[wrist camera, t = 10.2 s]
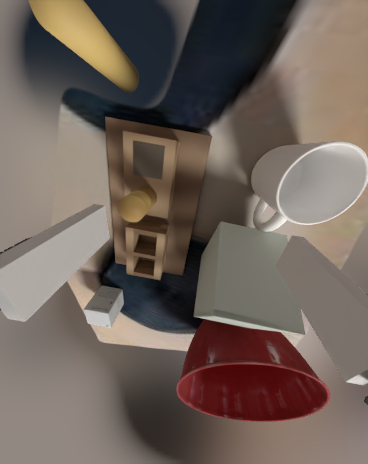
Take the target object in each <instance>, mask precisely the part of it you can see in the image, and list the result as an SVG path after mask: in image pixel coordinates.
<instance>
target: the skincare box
mask: <svg viewBox="0 0 368 464" xmlns="http://www.w3.org/2000/svg"><path fill="white" fill-rule="evenodd" d="M123 304H124V300H123V291H122V289H118V288H112V287H107V286H101V287H100V288H99V290H98V291H97V292H96V294H95V295H94V296H93V298H92V299H91V300H90V302H89V303H88V304H87V306H86V307H85V308H84V313H85V316H86V319H87V322H88V324H93V325H97V326H103V327H108V328H111V327H112V325H113V323H114V321H115V319H116V317H117V315H118V313H119V311H120V310H121V308H122V306H123Z"/></svg>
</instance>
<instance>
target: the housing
mask: <svg viewBox="0 0 368 464" xmlns="http://www.w3.org/2000/svg"><path fill="white" fill-rule="evenodd" d="M287 244H288V240H287V235H283V234H278V233H274V232H263V231H262V230H259V229H255V228H250V227H245V226H240V225H235V224H231V223H226V222H220V223H219V225H218V227H217V229H216V231H215V232H214V234H213V236H212V238H211V239H210V241H209V243H208V245H207V247H206V248H205V250H204V252H203V254H202V256H201V263H200V271H199V279H198V286H197V294H196V302H195V309H194V317H197V318H202V319H207V320H211V321H216V322H221V323H226V324H230V325H235V326H240V327H245V328H252V329H260V330H268V331H276V332H284V333H292V334H301V335H305V331H304V325H303V320H302V315H301V309H300V306H299V304H298V303H297V301H296V300H295V298H294V296H293V295H292V293H291V291H290V290H289V288H288V286H287V285H286V283H285V281H284V280H283V278H282V276H281V275H280V273H279V271H278V270H277V268H276V267H275V265H276V263H277V261H278V260H279V258H280V256H281V254H282V253H283V251H284V249H285V247H286V246H287Z"/></svg>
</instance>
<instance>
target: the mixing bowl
mask: <svg viewBox="0 0 368 464" xmlns="http://www.w3.org/2000/svg"><path fill="white" fill-rule="evenodd" d="M177 394H178V396H179V398H180V399H181V400H182V401H183V402H184V403H186V404H187V405H188V406H190V407H192V408H194V409H196V410H198V411H201V412H203V413H207V414H209V415H213V416H217V417H221V418H227V419H232V420H240V421H253V422H272V421H284V420H291V419H296V418H301V417H305V416H308V415H311V414H313V413H315V412H317V411H319V410H321V409H322V408H323V407H325V406H326V405H327V403H328V401H329V399H330V392H329V389H328V388H327V386H326V385H325V384H324V383H323V382H322V381H321V380H320V379H319V378H318V377H317V375H316V374H315V373H314V372H313V370H312V369H311V367H310V366H309V365H308V363H307V362H306V361H305V359H304V358H303V357H302V356H301V354H300V353H299V352H298V351H297V350H296V348H295V347H294V346H293V345H292V344H291V343H290V342H289V341H288V339H287V338H286V337H285V336H284V335H283V334H282V333H281V332H276V331H268V330H260V329H252V328H245V327H240V326H235V325H230V324H226V323H221V322H216V321H211V320H207V319H204V320H203V321H202V323H201V324H200V326H199V327H198V329H197V331H196V333H195V335H194V337H193V339H192V342H191V344H190V347H189V349H188V353H187V355H186V358H185V362H184V365H183V369H182V373H181V376H180V380H179V381H178V384H177Z"/></svg>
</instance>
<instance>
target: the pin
mask: <svg viewBox="0 0 368 464" xmlns="http://www.w3.org/2000/svg"><path fill="white" fill-rule="evenodd" d="M29 3H30V6H31V9H32V11H33V13H34V15H35V17H36V19H37V20H38V21H39V23H40V24H41V25H42V26H43V27H44V28H45V29H46V30H47V31H48V32H50V33H51V34H52V35H53V36H55V37H56V38H57V39H58V40H60V41H61V42H62V43H64V44H65V45H66V46H67V47H69V48H70V49H71V50H72V51H74V52H75V53H76V54H77V55H79V56H80V57H81V58H83V59H84V60H85V61H86V62H88V63H89V64H90V65H92V66H93V67H94V68H95V69H96V70H98V71H99V72H100V73H102V74H103V75H104V76H105V77H107V78H108V79H109V80H111V81H112V82H113V83H114V84H115V85H117V86H118V87H119V88H121V89H122V90H123V91H125V92H128V93H129V92H133V91H134V90H135V89H136V88H137V85H138V81H139V77H138V72H137V69H136V68H135V66H134V65H133V63H132V62H131V61H130V60H129V58H128V57H127V56H126V54H125V53H124V52H123V51H122V49H121V48H120V47H119V46H118V44H117V43H116V41H115V40H114V39H113V38H112V36H111V35H110V34H109V33H108V31H107V30H106V29H105V27H104V26H103V25H102V23H101V22H100V21H99V20H98V18H97V17H96V16H95V15H94V13H93V12H92V11H91V9H90V8H89V7H88V5H87V4H86V3H85V1H84V0H29Z"/></svg>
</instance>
